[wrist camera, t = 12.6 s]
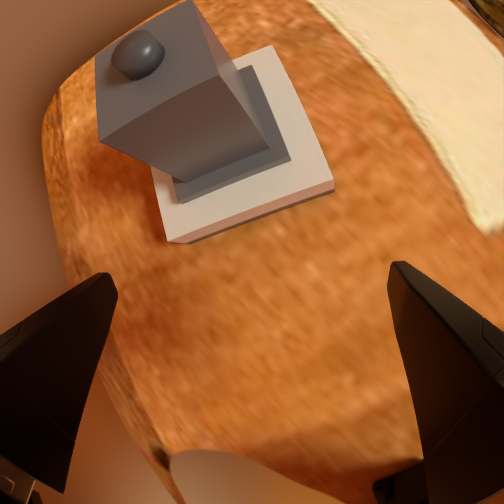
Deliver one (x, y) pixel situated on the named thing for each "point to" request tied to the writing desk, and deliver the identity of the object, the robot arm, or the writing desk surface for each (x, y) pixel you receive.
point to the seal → (491, 13)
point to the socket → (259, 185)
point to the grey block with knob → (185, 105)
